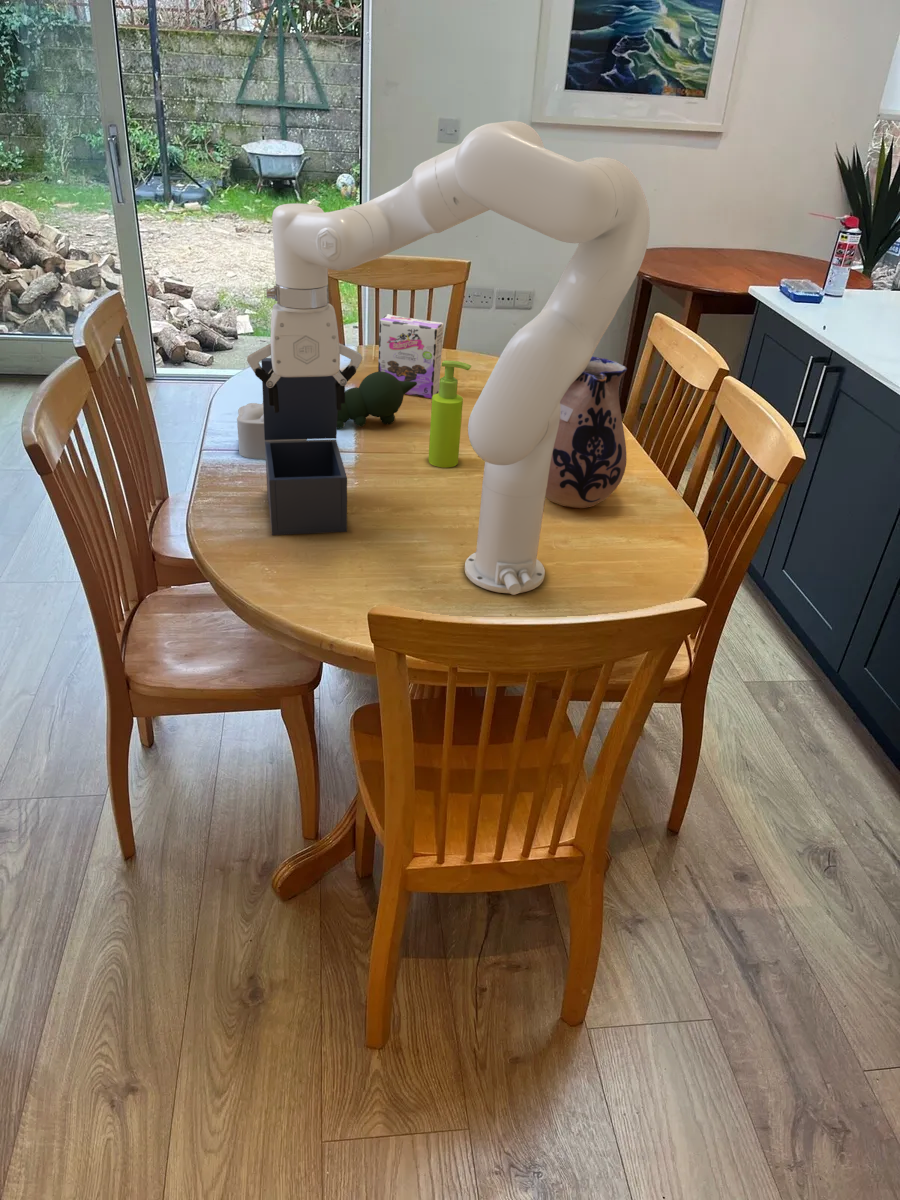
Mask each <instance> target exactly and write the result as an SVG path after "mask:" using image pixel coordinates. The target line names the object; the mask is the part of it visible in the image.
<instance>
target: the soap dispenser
mask: <svg viewBox="0 0 900 1200" xmlns="http://www.w3.org/2000/svg"><path fill="white" fill-rule="evenodd" d="M441 367H442V368H443V367H444V376H442V377H440V382H439V393H437V394H434V395H433V396H432V399H431V411H430V426H429V427H430V428H429V445H428V459H427V460H428V463H429V464H430V465H432V466H433V467H437V468H445V469H447V468H454V467H455V466H457V465H458V464H459V455H460V442H461V430H462V417H463V405H464V404H463V403H464V397H463V396H461V395H459V394H458V384H459V383H458V382H459V381H458V379H457V378H456V377H454V375H455V368H457V369H462V370H465V371H469V370H471V368H472V364H469V363H466V362H464V361H458V360H445V359H444V360H443V361H441Z"/></svg>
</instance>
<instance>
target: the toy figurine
mask: <svg viewBox="0 0 900 1200" xmlns="http://www.w3.org/2000/svg"><path fill="white" fill-rule="evenodd" d="M416 385H417V382H412V381H399V380H398V379H397V378H396V377H395V376H393V375H392V374H390V373H387V372H382V371H379V372H378V371H375V372H372V373H369V374H368V375H366V376H365V377H364V378H363V379H362V381H361V382H360V384H359V386H358V387H357V386H356V387H351V388H349V389H347V390H345V403H343V404H341V411H338V412H337V429H343V428H344V426H345V423H346V422H349V420H350V421H351V420H352V421H353V423H354V424H355V425H356V427H364V426H365V425H366V424H367V418H368V417H369V416H371V417H374V418H379V419H380V422H381V423H382V424H384V425H388V426H389V425H392V424H393V423H394V422H395V419H396V416H395V414H397V413H398V411H399V410H400V408H401V406H402V403H403V401H404V396H405V395H406V394H405V393H407V392H408V391H409V390H410V389H412V388H413V387H414V386H416Z"/></svg>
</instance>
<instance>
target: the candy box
mask: <svg viewBox="0 0 900 1200" xmlns="http://www.w3.org/2000/svg"><path fill="white" fill-rule="evenodd" d="M378 327H379V328H378V329H379V333H378V363H377V364H378V366H377V370H378V371H377V372H379V371H382V372H387V373H390V374H392V375H393V376H395V377H396V378H397V379H398V380H399V381H412V382H417V385H416V386H414V387H413V388H412V389H410V390H409V391H408V392H407V393H405V394H404V395H409V396H413V397H414V396H415V397H420V398H426V399H430V400H432V396H433V395H434V394H437V393H439V385H440V378H441V369H442V355H443V354H442V353H443V338H444V337H443V336H444V327H445V323H444V322H441V321H434V320H427V319H426V320H425V319H419V318H412V317H406V316H399V315H393V314H390V313H387V314H386V315H384V316H383V317H381V318H380V319H379V326H378Z"/></svg>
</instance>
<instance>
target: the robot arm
mask: <svg viewBox="0 0 900 1200" xmlns="http://www.w3.org/2000/svg"><path fill="white" fill-rule="evenodd" d="M411 174H412V175H411V176H410V178H409V179H407V180H405V182H403V183H401V184H400V185H398V186H396V187H394V188H392V189H391V190H388V191H387V192H385V193H383V194H381V195H379V196H377V197H375V198H371V200H367V201H366V202H364V203H361V204H357V205H353V206H348V207H345V208H341V209H336V210H332V211H327V212H325V210H323V208H321V207H320V206H317V205H316V204H309V203H301V202H300V203H283V204H280V205H277V206H276V207H275V208H274V209H273V211H272V215H271V221H272V222H271V224H272V225H271V226H272V240H273V241H272V243H273V254H274V255H273V257H274V258H273V259H274V274H275V285H273V287H270V288H265V293H266V299H272V300H274V302H276V303H274V304H273V305H272V309H271V316H270V343H269V344H267V345H265V346H263V347H261V348H259V349H258V350H256V351H254V352H252V353H250V354H248V356H246V361H247V363H248V365H249V367H250V369H251V370H252V371H253V373H254V375H255V376H256V378H257V379H259V380H260V381H261V383H262V382H264V383H265V384H266V386H267V387H268V395H269V406H274V412H275V413H278V412H279V400H278V387H277V381H278V380H279V379H280V377H322V376H333V377H334V378H335V379H336V380H335V381H334V392H335V406H336V409H337V410H338V411H341V404H343V403H345V392H346V385H347V384H348V382H349V381H350V380H351V379H352V378H353V377H354V376H355V375H356V373H357V370H358V369H359V367H360V365H361V364H362V363H361V362H362V361H363V356H362V354H361V353H360V352H358V351H356V350H354V349H352V348H351V347H348V346H347V345H344V344H342V343H340V339H339V329H338V328H339V327H338V321H337V315H336V311H335V307H334V306H333V305H332V304H331V303H329V302H330V300H329V270H331V271H332V270H333V271H337V272H340V271H341V272H342V271H347V270H350V269H353V268H355V267H359V266H361V265H363V264H365V263H368V262H372V261H374V260H377V259H379V258H381V257H384V256H386V255H388V254H391V253H392V252H393V253H394V252H395V251H397V250H399V249H402V248H404V247H405V246H408V245H410V244H412V243H415V242H417V241H418V240H421V239H423V238H426V237H428V236H430V235H432V234H440V233H442V232H445V231H446V230H448V229H451V228H453V227H455V226H457V225H460V224H462V223H464V222H466V221H468V220H470V219H472V218H475V217H477V216H480V215H482V214H483V213H485V212H488V211H492V212H494V213H496V214H499V215H500V216H502V217H505V218H506V219H509V220H511V221H514V222H516V223H518V224H520V225H522V226H524V227H527V228H529V229H531V230H532V231H536V232H537V233H540V234H542V235H544V236H547V237H548V238H552V239H554V240H557V241H560V242H561V243H567V244H578V245H577V246H576V249H575V251H574V253H573V255H572V256H571V258H570V259H569V261H568V263H567V264H566V265H565V267H564V269H563V271H562V273H561V275H560V277H559V280H558V282H557V284H556V286H554V289H553V291H552V293H551V295H550V296H549V298H548V299H547V302H546V303H545V305H544V306H543V308H542V309H541V310H540V312H539V313H538V314H537V315H536V316H535V317H533V319H531V320H530V321H529V322H527V323H525V324H524V326H522V327H521V328H519V330H517V331H516V332H515V333H514V334H513V336H512V337H511V338H510V340H509V341H508V343H507V344H506V345H505V347H504V349H503V350H502V352H501V354H500V356H499V357H498V360H497V362H496V364H495V365H494V367H493V369H492V370H491V373H490V375H489V377H488V379H487V380H486V383H485V385H484V386H483V388H482V389H481V392H480V394H479V396H478V398H477V400H476V402H475V403H474V406H473V408H472V411H471V412H470V415H469V418H468V424H467V436H468V439H469V443H470V446H471V447H472V449H473V451H474V452H475V454H476V455H477V456H478V457H479V458H480V459H481V460H483V461H484V467H483V475H482V476H483V477H482V486H481V495H480V507H479V518H478V529H477V539H476V548H475V549H476V550H475V552H473V553H472V554H470V555H469V556H468V557H467V558H466V559H465V563H464V572H465V573H464V575H465V576H466V577H467V579H468V580H469V581H470V582H471V583H473V584H475V585H476V586H477V587H480V588H482V589H484V590H487V591H490V592H495V593H500V594H501V593H502V594H511V595H514V596H515V595H517V594H521V593H526V592H530V591H532V590H535V589H536V588H538V587H539V586H540V585H541V584H542V583H543V582H544V580H545V575H546V569H545V566H544V564H543V563H542V562H541V561H540V560H539V559H538V553H539V546H540V539H541V530H542V523H543V518H544V517H543V516H544V509H545V501H546V497H545V495H546V488H547V483H548V476H549V469H550V463H551V458H552V453H553V448H554V444H555V440H556V435H557V431H558V427H559V421H560V413H561V407H560V401H561V399H562V398H563V396H564V394H565V393H566V391H567V390H568V388H569V387H570V385H571V384H572V383H573V382H574V381H575V380H576V379H577V378H578V377H579V376H580V375H581V374H582V372H583V371H584V370H585V369H586V367H587V365H588V364H589V362H590V360H591V357H592V356H593V355H594V353H595V351H596V349H597V347H598V346H599V343H600V342H601V340H602V339H603V336H604V335H605V333H606V331H607V330H608V328H609V326H610V324H611V323H612V321H613V319H614V318H615V316H616V314H617V313H618V310H619V308H620V306H621V305H622V303H623V301H624V299H625V298H626V295H627V294H628V293H629V290H630V289H631V286H632V285H633V283H634V281H635V279H636V277H637V274H638V273H639V271H640V268H641V266H642V265H643V264H642V263H643V261H644V258H645V255H646V252H647V250H648V249H647V247H648V243H649V237H650V229H651V228H650V226H651V221H650V220H651V219H650V217H651V216H650V210H649V204H648V200H647V197H646V195H645V192H644V189H643V187H642V185H641V182H639V180H638V178H637V177H636V175H635V174H634V173H633V171H632V170H631V169H630V168H629V167H628V166H627V165H625V164H624V163H623V162H621V161H619V160H618V159H615V158H612V157H609V156H608V157H607V156H597V157H591V158H587V159H584V160H581V161H577V160H574V159H572V158H569V157H567V156H565V155H562V154H560V153H557V152H555V151H553V150H551V149H547V148H545V145H544V142H543V140H542V137H541V136H540V135H539V134H538V132H537V130H535V129H534V128H533V127H532V126H530V125H529V124H528V123H525V122H522V121H519V120H506V121H499V122H498V121H497V122H489V123H485V124H482V125H480V126H477V127H476V128H474V129H473V130H471V131H470V132H469V133H468V134H466V136H465V137H464V138H463V140H462V141H461V142H460V143H459V144H457V145H455V146H453V147H452V148H450V149H448V150H446V151H443V152H441V153H439V154H437V155H434V156H433V157H431V158H428V159H427V160H424V161H422V162H420V163H419V164H417V166H415V167H414V169H413V170H412V173H411ZM341 356H343V357H344V358H347V359H349V363H348V365H347V366H346V367H345V368H344V369H343V370H341ZM269 357H270V358H271V360H272V369H271V370H270V372H269V373H267V372H266V371H265V370H264V369H263V368H262V365H261V364H260V362H261V360H263V359H265V358H269Z"/></svg>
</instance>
